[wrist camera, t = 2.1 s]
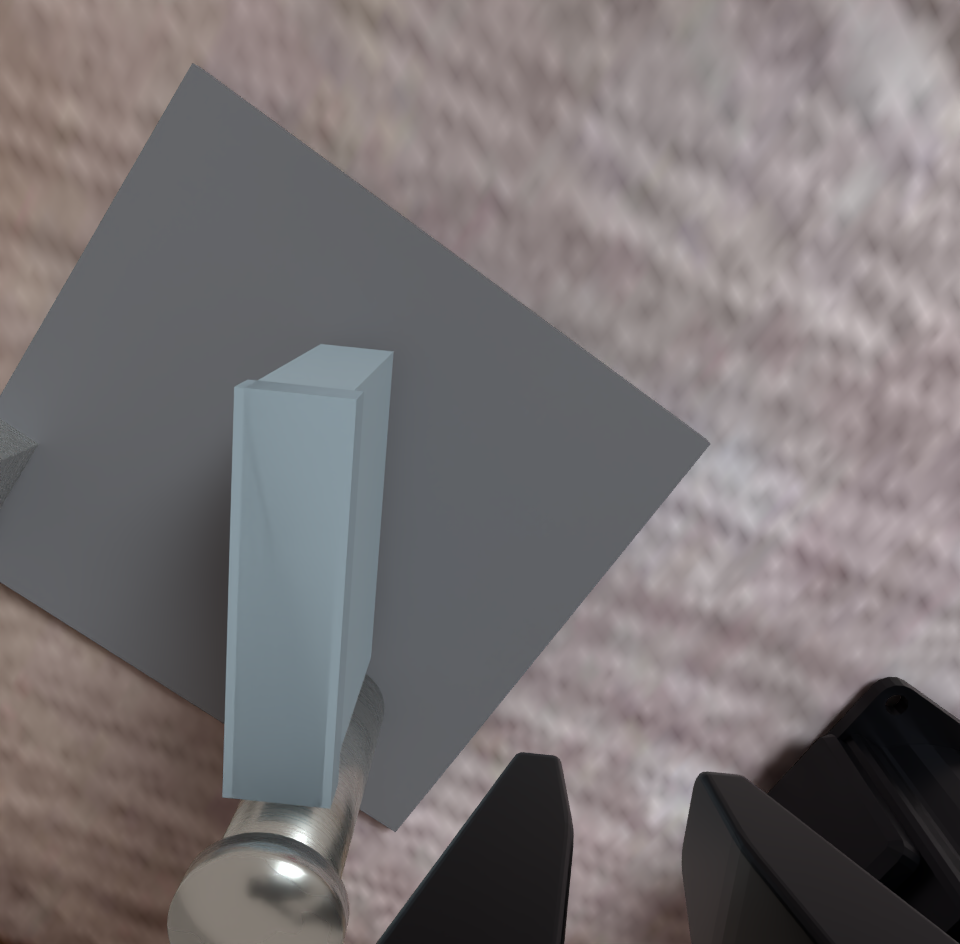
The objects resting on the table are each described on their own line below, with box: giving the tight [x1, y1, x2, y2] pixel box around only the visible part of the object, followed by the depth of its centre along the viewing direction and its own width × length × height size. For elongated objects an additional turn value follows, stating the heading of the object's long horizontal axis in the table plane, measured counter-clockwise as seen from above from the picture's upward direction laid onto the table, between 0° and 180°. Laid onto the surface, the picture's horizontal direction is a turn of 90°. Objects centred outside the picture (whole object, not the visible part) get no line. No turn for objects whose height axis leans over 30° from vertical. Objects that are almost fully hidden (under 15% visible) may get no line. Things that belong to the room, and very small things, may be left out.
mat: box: [0, 63, 710, 832], centre depth 20 cm, size 13×12×1 cm
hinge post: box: [167, 674, 385, 944], centre depth 18 cm, size 3×3×8 cm
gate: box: [222, 344, 394, 809], centre depth 17 cm, size 7×2×6 cm, turn 174°
